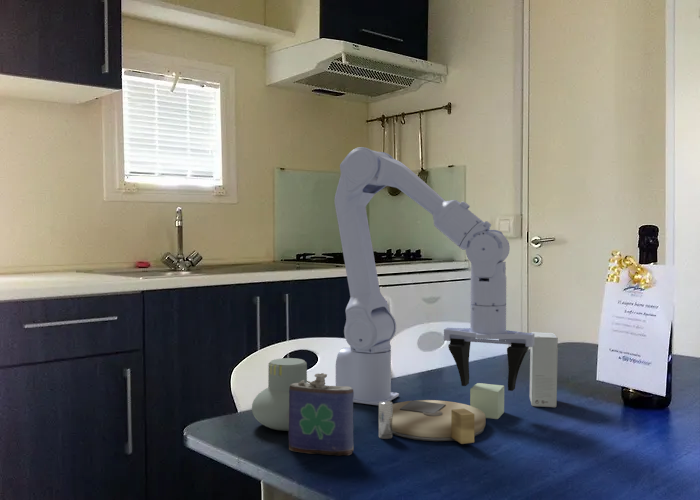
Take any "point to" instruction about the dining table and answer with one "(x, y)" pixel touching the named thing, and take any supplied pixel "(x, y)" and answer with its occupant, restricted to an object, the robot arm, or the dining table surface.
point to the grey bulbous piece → (278, 392)
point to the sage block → (488, 399)
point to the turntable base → (387, 432)
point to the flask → (320, 418)
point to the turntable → (437, 419)
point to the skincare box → (543, 370)
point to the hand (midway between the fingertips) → (488, 387)
